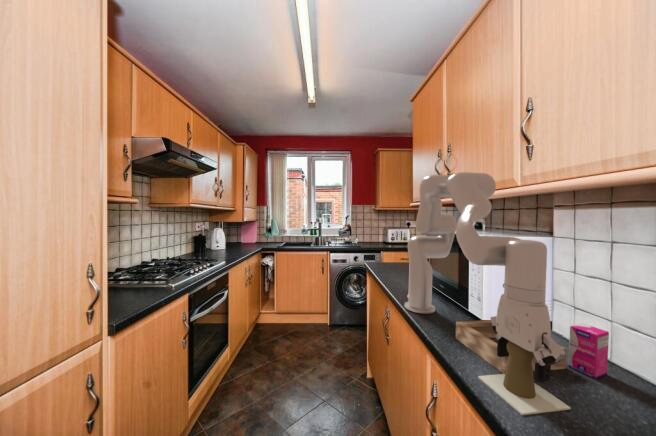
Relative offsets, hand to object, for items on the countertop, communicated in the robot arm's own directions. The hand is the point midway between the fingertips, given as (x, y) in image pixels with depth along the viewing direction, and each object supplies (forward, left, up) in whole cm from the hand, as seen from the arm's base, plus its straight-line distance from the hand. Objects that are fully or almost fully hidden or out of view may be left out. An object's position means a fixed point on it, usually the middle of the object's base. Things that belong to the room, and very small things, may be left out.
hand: (521, 367), depth 59 cm
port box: (-16, +12, -6) cm, 21 cm away
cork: (0, 0, -5) cm, 6 cm away
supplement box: (-5, +26, -6) cm, 27 cm away
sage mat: (0, 0, -6) cm, 6 cm away
